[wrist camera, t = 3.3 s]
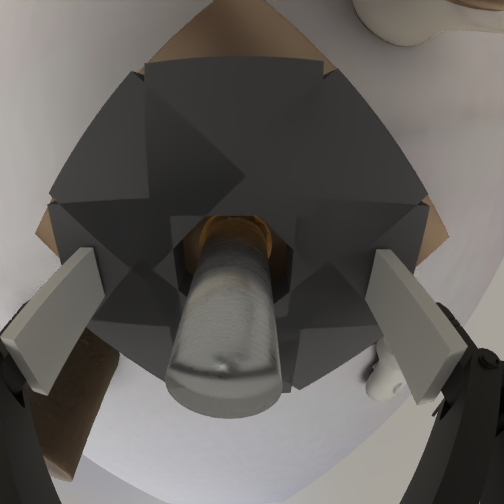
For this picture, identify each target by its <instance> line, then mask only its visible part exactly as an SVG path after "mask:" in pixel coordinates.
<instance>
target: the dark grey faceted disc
mask: <svg viewBox="0 0 504 504" xmlns="http://www.w3.org/2000/svg"><path fill="white" fill-rule="evenodd" d="M323 72H324V61H319V60H310V59H300V58H287V57H268V56H219V57H200V58H187V59H177V60H168V61H160V62H152V63H146V64H145V69H144V75H143V74H139V73H136V72H133V71H131V72H130V73H129V75H128V76H127V77H126V78H125V79H124V80H123V82H122V83H121V84H120V85H119V87H118V88H117V89H116V90H115V92H114V93H113V94H112V95H111V97H110V98H109V99H108V100H107V102H106V103H105V104H104V106H103V107H102V108H101V110H100V111H99V113H98V114H97V115H96V117H95V118H94V120H93V121H92V122H91V124H90V125H89V127H88V128H87V130H86V131H85V133H84V134H83V136H82V137H81V139H80V140H79V142H78V143H77V145H76V147H75V148H74V150H73V151H72V153H71V155H70V156H69V158H68V160H67V161H66V163H65V165H64V166H63V168H62V170H61V172H60V173H59V175H58V177H57V179H56V181H55V182H54V184H53V186H52V188H51V190H50V192H49V194H50V195H51V196H52V197H53V198H54V199H55V201H53V202H51V203H50V204H48V205H47V206H48V211H49V216H50V220H51V225H52V230H53V234H54V238H55V242H56V246H57V250H58V254H59V257H60V261H61V264H62V265H63V264H64V263H65V262H66V261H67V260H68V259H69V258H70V257H71V256H72V255H73V254H74V253H75V252H76V251H77V250H78V249H79V248H80V247H85V248H93V250H94V255H95V259H96V263H97V267H98V271H99V275H100V279H101V283H102V287H103V290H104V294H105V297H104V299H103V300H102V302H101V303H100V305H99V307H98V308H97V310H96V311H95V313H94V314H93V316H92V318H91V319H90V321H89V322H88V324H87V326H86V327H87V328H88V329H89V330H91V331H92V332H93V333H94V334H96V335H97V336H98V337H100V338H101V339H102V340H104V341H105V342H106V343H108V344H109V345H110V346H112V347H113V348H115V349H116V350H117V351H119V352H120V353H122V354H123V355H124V356H126V357H127V358H129V359H130V360H132V361H133V362H135V363H136V364H138V365H139V366H141V367H142V368H144V369H145V370H147V371H148V372H150V373H151V374H153V375H155V376H156V377H158V378H159V379H161V380H163V381H164V382H165V376H166V372H167V368H168V364H169V360H170V357H171V353H172V349H173V346H174V342H175V338H176V335H177V331H178V328H179V324H180V320H181V317H182V314H183V310H184V307H185V303H186V300H187V296H188V293H189V290H190V286H191V283H192V280H193V276H194V275H192V274H191V273H190V272H189V271H188V270H186V265H185V255H184V245H183V238H184V237H185V236H186V235H187V234H188V233H189V232H190V231H191V230H192V229H193V228H194V227H195V226H196V225H197V224H198V223H199V222H200V221H201V220H202V219H203V218H204V217H205V216H260V217H261V218H262V219H263V220H264V221H265V222H266V223H267V224H268V225H269V226H270V227H271V228H272V229H273V230H274V231H275V232H276V233H277V234H278V235H279V236H280V237H281V238H282V239H283V240H284V241H285V242H286V243H287V254H286V267H285V271H284V272H282V273H281V274H280V275H279V276H277V277H276V278H275V279H274V280H273V281H271V287H272V295H273V304H274V313H275V322H276V330H277V339H278V348H279V358H280V367H281V376H282V393H290V392H291V387H292V386H294V387H295V388H297V389H299V390H301V389H302V388H304V387H306V386H308V385H309V384H311V383H313V382H315V381H316V380H318V379H320V378H321V377H323V376H325V375H326V374H328V373H330V372H331V371H333V370H334V369H336V368H338V367H339V366H341V365H342V364H344V363H345V362H347V361H348V360H350V359H352V358H353V357H355V356H356V355H358V354H359V353H361V352H362V351H363V350H365V349H366V348H368V347H369V346H371V345H372V344H374V343H375V342H376V341H378V340H379V339H381V338H382V337H383V336H384V335H383V333H382V331H381V329H380V327H379V325H378V323H377V321H376V319H375V317H374V315H373V313H372V311H371V310H370V308H369V306H368V304H367V302H366V300H365V297H366V293H367V289H368V285H369V280H370V276H371V272H372V267H373V263H374V258H375V254H376V249H389V250H391V251H392V252H393V253H394V254H395V255H396V256H397V257H398V258H399V260H400V261H401V262H402V263H403V264H404V265H405V266H406V268H407V269H408V270H409V271H410V272H411V273H412V275H413V274H414V270H415V267H416V263H417V260H418V256H419V252H420V248H421V244H422V240H423V236H424V232H425V228H426V223H427V219H428V214H429V209H430V206H429V205H427V204H426V203H424V202H423V201H422V200H423V199H424V198H425V197H426V196H427V195H428V193H427V191H426V189H425V187H424V186H423V184H422V182H421V181H420V179H419V177H418V176H417V174H416V172H415V171H414V169H413V167H412V166H411V164H410V163H409V161H408V160H407V158H406V156H405V155H404V153H403V152H402V150H401V149H400V147H399V146H398V144H397V143H396V141H395V140H394V139H393V137H392V136H391V134H390V133H389V131H388V130H387V129H386V127H385V126H384V125H383V123H382V122H381V120H380V119H379V118H378V116H377V115H376V114H375V113H374V111H373V110H372V109H371V107H370V106H369V105H368V104H367V102H366V101H365V100H364V99H363V97H362V96H361V95H360V94H359V92H358V91H357V90H356V89H355V88H354V86H353V85H352V84H351V83H350V82H349V81H348V79H347V78H346V77H345V76H344V75H343V74H342V73H341V71H340V70H339V69H338V68H337V69H335V70H333V71H331V72H329V73H327V74H325V75H324V76H323Z"/></svg>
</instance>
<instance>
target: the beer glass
mask: <svg viewBox="0 0 504 504" xmlns="http://www.w3.org/2000/svg"><path fill="white" fill-rule="evenodd" d="M352 3H353V6H354V9H355V11H356V13H357V15H358V16H359V18H360V19H361V21H362V22H363V23H364V24H365V25H366V26H367V28H368V29H370V30H371V31H372V32H373V33H374V34H375V35H377V36H378V37H380V38H381V39H383V40H385V41H387V42H389V43H392V44H395V45H398V46H406V47H410V46H416V45H419V44H421V43H423V42H425V41H426V40H428V39H429V38H431V37H432V36H433V35H435V34H437V33H439V32H443V31H474V32H488V33H504V0H352Z"/></svg>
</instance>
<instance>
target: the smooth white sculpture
mask: <svg viewBox="0 0 504 504" xmlns="http://www.w3.org/2000/svg"><path fill="white" fill-rule="evenodd" d="M376 350H377V354H378V357H379V361H378V362H376V363H375V364H374V365H373V367H372V368H373V369H374V371H373V372H372V373H371V375H370V376H369V378H368V380H367V383H366V393H367V395H368V396H369V397H370V398H371V399H372V400H375V401H386V400H389V399H391V398H393V397H394V396H395V395H396V394H398V393H399V392H400V391H401V390H402V389H403V388H404V387H405V386H406V385H407V382H406V380H405V378H404V376H403V373H402V371H401V369H400V367H399V365H398V363H397V361H396V359H395V357H394V355H393V353H392V351H391V349H390V347H389V344H388V342H387V340H386V339H385V337H384V336H383V337H382V338H381V339H379V340H378V341H377V344H376Z"/></svg>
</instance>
